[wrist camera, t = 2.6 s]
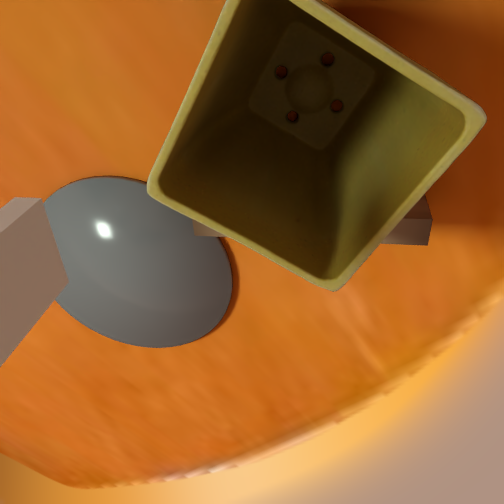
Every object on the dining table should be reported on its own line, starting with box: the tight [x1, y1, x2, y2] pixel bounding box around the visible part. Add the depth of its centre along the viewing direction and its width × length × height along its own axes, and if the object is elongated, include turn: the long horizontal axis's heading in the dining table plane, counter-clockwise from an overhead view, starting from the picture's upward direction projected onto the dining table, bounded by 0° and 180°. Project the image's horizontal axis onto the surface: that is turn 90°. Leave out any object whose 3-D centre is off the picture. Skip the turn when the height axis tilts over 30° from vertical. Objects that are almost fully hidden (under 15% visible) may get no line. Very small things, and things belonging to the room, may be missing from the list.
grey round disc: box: [43, 176, 233, 348], centre depth 32 cm, size 14×14×1 cm
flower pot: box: [147, 0, 487, 292], centre depth 20 cm, size 9×9×9 cm
